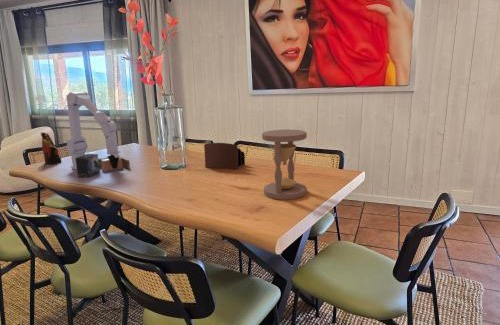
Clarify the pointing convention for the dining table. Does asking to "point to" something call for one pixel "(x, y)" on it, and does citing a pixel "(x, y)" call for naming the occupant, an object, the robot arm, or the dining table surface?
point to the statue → (49, 150)
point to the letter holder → (223, 156)
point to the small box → (87, 165)
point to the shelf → (124, 162)
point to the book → (107, 164)
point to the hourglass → (283, 152)
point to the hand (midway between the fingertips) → (115, 168)
